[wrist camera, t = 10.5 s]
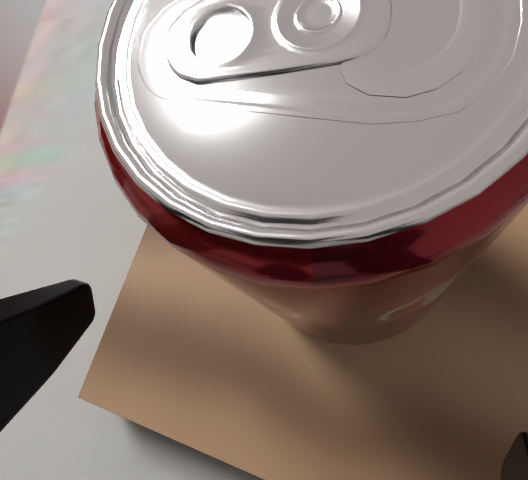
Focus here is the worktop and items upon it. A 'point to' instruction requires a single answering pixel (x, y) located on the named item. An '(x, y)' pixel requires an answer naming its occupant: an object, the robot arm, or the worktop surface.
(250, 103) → the soda can
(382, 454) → the walnut base board
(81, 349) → the worktop surface
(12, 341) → the robot arm
